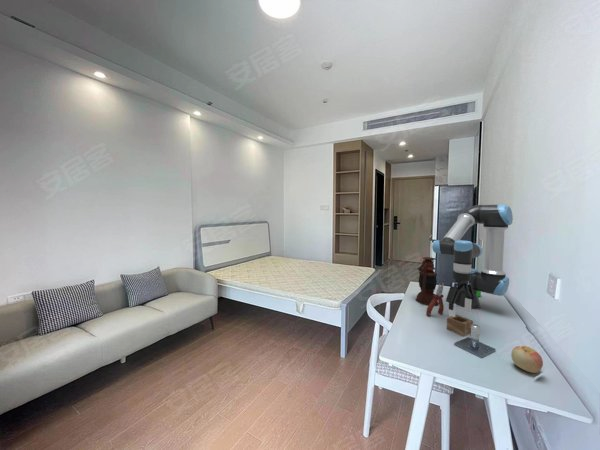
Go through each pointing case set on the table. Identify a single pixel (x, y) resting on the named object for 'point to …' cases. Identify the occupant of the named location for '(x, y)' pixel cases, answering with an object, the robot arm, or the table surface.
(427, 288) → the lantern
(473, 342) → the plate with upright peg
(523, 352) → the apple
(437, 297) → the pliers
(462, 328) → the brown boxy piece
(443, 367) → the table surface
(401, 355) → the table surface
